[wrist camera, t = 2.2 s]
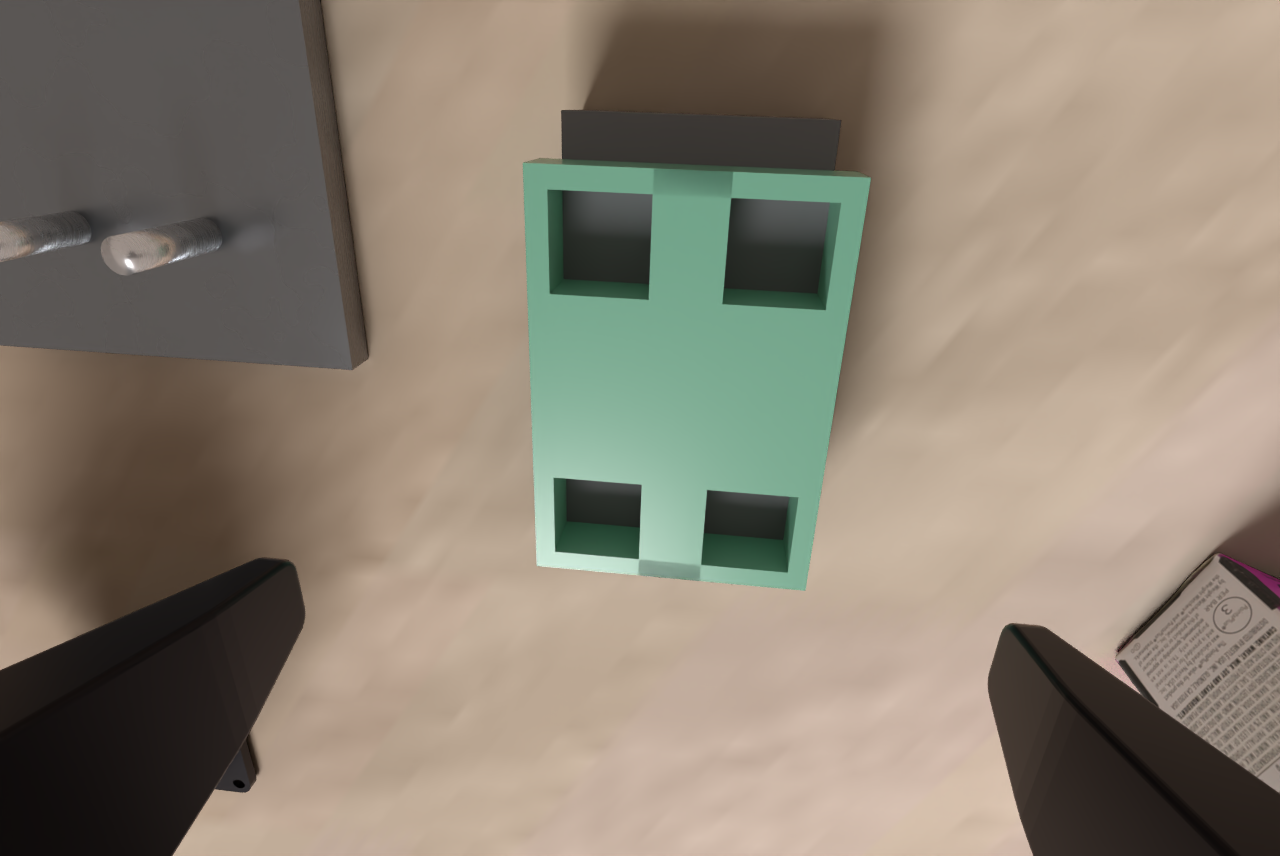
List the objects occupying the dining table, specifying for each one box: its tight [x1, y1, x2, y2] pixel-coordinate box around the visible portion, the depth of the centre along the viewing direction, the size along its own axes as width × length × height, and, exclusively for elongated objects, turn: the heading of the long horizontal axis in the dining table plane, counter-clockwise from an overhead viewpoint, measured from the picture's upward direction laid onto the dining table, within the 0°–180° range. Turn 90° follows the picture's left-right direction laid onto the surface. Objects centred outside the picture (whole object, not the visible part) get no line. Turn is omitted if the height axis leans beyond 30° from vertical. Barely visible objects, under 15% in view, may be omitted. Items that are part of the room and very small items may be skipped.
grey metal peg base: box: [0, 0, 368, 370], centre depth 17 cm, size 14×11×4 cm
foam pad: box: [561, 110, 841, 540], centre depth 19 cm, size 12×6×2 cm, turn 178°
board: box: [523, 158, 871, 591], centre depth 17 cm, size 10×7×2 cm
